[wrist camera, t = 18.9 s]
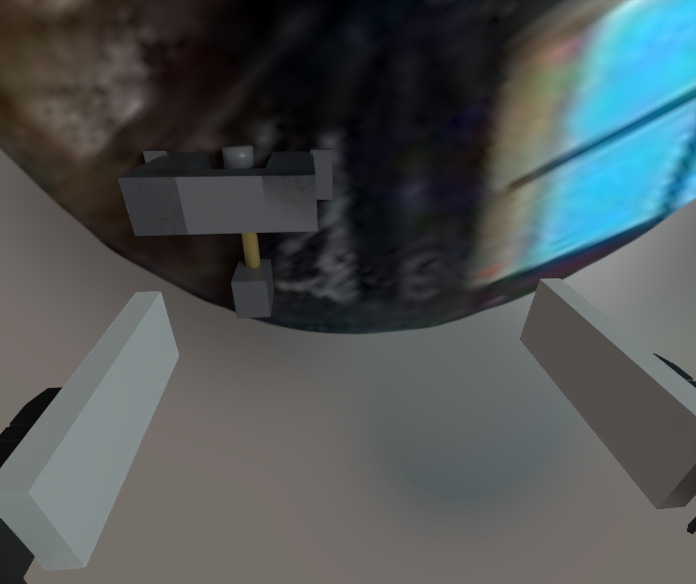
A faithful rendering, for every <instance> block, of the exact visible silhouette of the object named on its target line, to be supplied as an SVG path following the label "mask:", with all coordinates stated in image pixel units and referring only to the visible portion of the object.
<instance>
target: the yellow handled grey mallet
mask: <svg viewBox="0 0 696 584" xmlns="http://www.w3.org/2000/svg"><path fill="white" fill-rule="evenodd" d="M221 148H222V154H223V161H224V167H225V168H227V169H249V168H252V167H254V166H255V164H254V155H253V147H252V145H245V144H235V145H226V146H222V147H221ZM241 235H242V242H243V249H244V255H245V260H239V262H238V265H237V267H236V270H235V273H234V275H233V278H232V281H231V285H232V291H233V297H234V302H235V308H236V313H237V318H252V317H271V310H272V303H273V296H274V286H273V277H272V268H271V259H260V255H259V247H258V239H257V233H241Z"/></svg>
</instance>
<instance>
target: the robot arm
mask: <svg viewBox="0 0 696 584" xmlns="http://www.w3.org/2000/svg"><path fill="white" fill-rule="evenodd" d="M520 340H521V341H522V343H523V344H524V345H525V346H526V348H527V349H528V350H529V351H530V353H531V354H532V355H533V356H534V358H535V359H536V360H537V361H538V363H539V364H540V365H541V366H542V367H543V369H544V370H545V371H546V372H547V373H548V375H549V376H550V377H551V379H552V380H553V381H554V382H555V384H556V385H557V386H558V387H559V389H560V390H561V391H562V392H563V394H564V395H565V396H566V397H567V398H568V400H569V401H570V402H571V403H572V405H573V406H574V407H575V408H576V410H577V411H578V412H579V413H580V415H581V416H582V417H583V418H584V420H585V421H586V422H587V423H588V425H589V426H590V427H591V428H592V430H593V431H594V432H595V433H596V434H597V436H598V437H599V438H600V439H601V441H602V442H603V443H604V444H605V446H606V447H607V448H608V449H609V451H610V452H611V453H612V454H613V456H614V457H615V458H616V459H617V461H618V462H619V463H620V464H621V466H622V467H623V468H624V469H625V471H626V472H627V473H628V474H629V475H630V477H631V478H632V479H633V480H634V482H635V483H636V484H637V485H638V487H639V488H640V489H641V490H642V492H643V493H644V494H645V495H646V497H647V498H648V499H649V500H650V501H651V503H652V504H653V505H654V506H655V508H656V509H665V508H674V507H684V506H686V505H687V504H688V503H689V502H690V500H691V499H692V498H693V497H694V496H695V495H696V382H694V381H693V378H691V377H690V376H689V375H688V374H687V373H685V372H684V371H683V370H682V369H680V368H679V367H678V366H676V365H675V364H673V363H671V362H669V361H668V360H666V359H664V358H662V357H660V356H658V355H656V354H655V353H652V352H650V351H649V350H648V349H647V348H645V347H644V346H643V345H642V344H640V343H639V342H638V341H637V340H636V339H634V338H633V337H632V336H631V335H629V334H628V333H627V332H626V331H624V330H623V329H622V328H620V327H619V326H618V325H617V324H616V323H614V322H613V321H612V320H611V319H610V318H608V317H607V316H606V315H604V314H603V313H602V312H601V311H600V310H598V309H597V308H596V307H595V306H593V305H592V304H591V303H590V302H588V301H587V300H586V299H585V298H584V297H582V296H581V295H580V294H579V293H577V292H576V291H575V290H573V289H572V288H571V287H570V286H569V285H567V284H566V283H565V282H564V281H562V280H561V279H560V278H559V279H540V281H539V284H538V287H537V290H536V293H535V296H534V299H533V302H532V305H531V308H530V311H529V313H528V316H527V319H526V323H525V325H524V328H523V332H522V334H521V337H520ZM178 358H179V354H178V350H177V347H176V343H175V340H174V336H173V333H172V329H171V326H170V322H169V319H168V315H167V312H166V308H165V305H164V301H163V298H162V294H161V292H160V291H159V292H136V293H135V294H134V295H133V297H132V298H131V300H130V301H129V302H128V303H127V305H126V306H125V307H124V308H123V310H122V311H121V312H120V314H119V315H118V316H117V318H116V319H115V320H114V322H113V323H112V324H111V325H110V327H109V328H108V329H107V331H106V332H105V333H104V334H103V336H102V337H101V338H100V340H99V341H98V342H97V344H96V345H95V346H94V347H93V349H92V350H91V351H90V353H89V354H88V355H87V357H86V358H85V359H84V360H83V362H82V363H81V364H80V366H79V367H78V368H77V370H76V371H75V372H74V373H73V375H72V376H71V377H70V379H69V380H68V381H67V382H66V384H65V385H64V387H61V388H60V387H59V388H47V389H46V390H45V391H43V392H42V393H41V394H39V395H38V396H37V397H35V398H34V399H33V400H31V401H30V402H28V403H27V404H26V405H25V406H24V407H23V408H22V409H21V411H20V412H19V413H18V414H17V415H16V417H15V418H14V419H13V420H12V422H11V423H10V426H9V427H6V428H5V430H4V431H3V432H2V433H1V434H0V584H27V583H26V581H25V580H24V578H23V577H24V575H25V574H26V572H27V570H28V568H29V566H30V565H31V563H32V561H33V559H35V560H36V561H37V562H38V563H39V564H40V565H41V566H42V567H43V568H44V570H45V571H55V570H65V569H74V568H84V567H86V565H87V563H88V560H89V558H90V556H91V553H92V551H93V549H94V547H95V545H96V542H97V540H98V538H99V536H100V533H101V531H102V529H103V527H104V524H105V522H106V520H107V518H108V515H109V513H110V511H111V508H112V506H113V504H114V502H115V499H116V497H117V495H118V493H119V491H120V488H121V486H122V484H123V482H124V479H125V477H126V475H127V472H128V470H129V468H130V466H131V464H132V461H133V459H134V457H135V454H136V452H137V450H138V447H139V446H140V443H141V441H142V439H143V437H144V434H145V432H146V430H147V427H148V425H149V423H150V421H151V419H152V416H153V414H154V412H155V409H156V407H157V405H158V403H159V401H160V398H161V396H162V394H163V391H164V389H165V387H166V385H167V383H168V380H169V378H170V376H171V374H172V371H173V369H174V367H175V364H176V362H177V360H178ZM695 531H696V517H695V518H694V519H693V520H692V521H691V522H690V523H689V524H688V528H687V532H689V533H691V534H693V533H694V532H695Z"/></svg>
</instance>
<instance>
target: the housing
mask: <svg viewBox="0 0 696 584" xmlns="http://www.w3.org/2000/svg"><path fill="white" fill-rule="evenodd" d="M143 154H144V158H145V162H146V163H145V164H143V165H141V166H139V167H138V168H136V169H134V170H132V171H130V172H128V173H126V174H124V175H122V176H120V177H118V181H119V185H120V188H121V191H122V195H123V198H124V201H125V204H126V208H127V211H128V214H129V217H130V221H131V224H132V227H133V231H134V234H135V236H155V235H192V234H228V233H264V232H301V231H318V230H317V201H316V200H331V199H333V198H332V149H310V152H273V153H272V155H271V157H270V159H269V161H268V164H267V166H266V168H265V169H212V168H211V163H210V157H209V152H177V153H169V150H144V151H143Z"/></svg>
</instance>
